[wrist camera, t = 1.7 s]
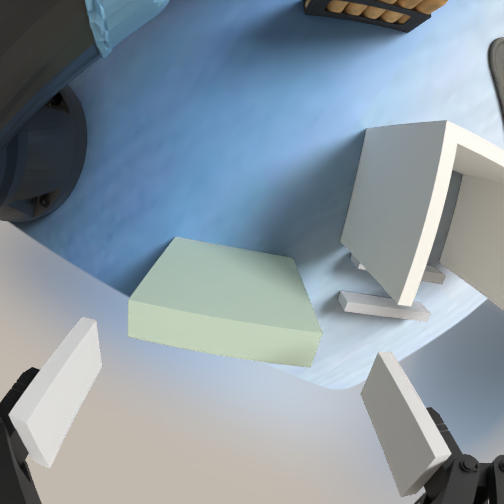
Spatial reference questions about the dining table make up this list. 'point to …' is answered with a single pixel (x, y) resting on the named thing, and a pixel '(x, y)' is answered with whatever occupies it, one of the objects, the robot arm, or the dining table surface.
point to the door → (226, 304)
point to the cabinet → (424, 215)
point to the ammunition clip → (376, 11)
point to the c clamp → (498, 67)
